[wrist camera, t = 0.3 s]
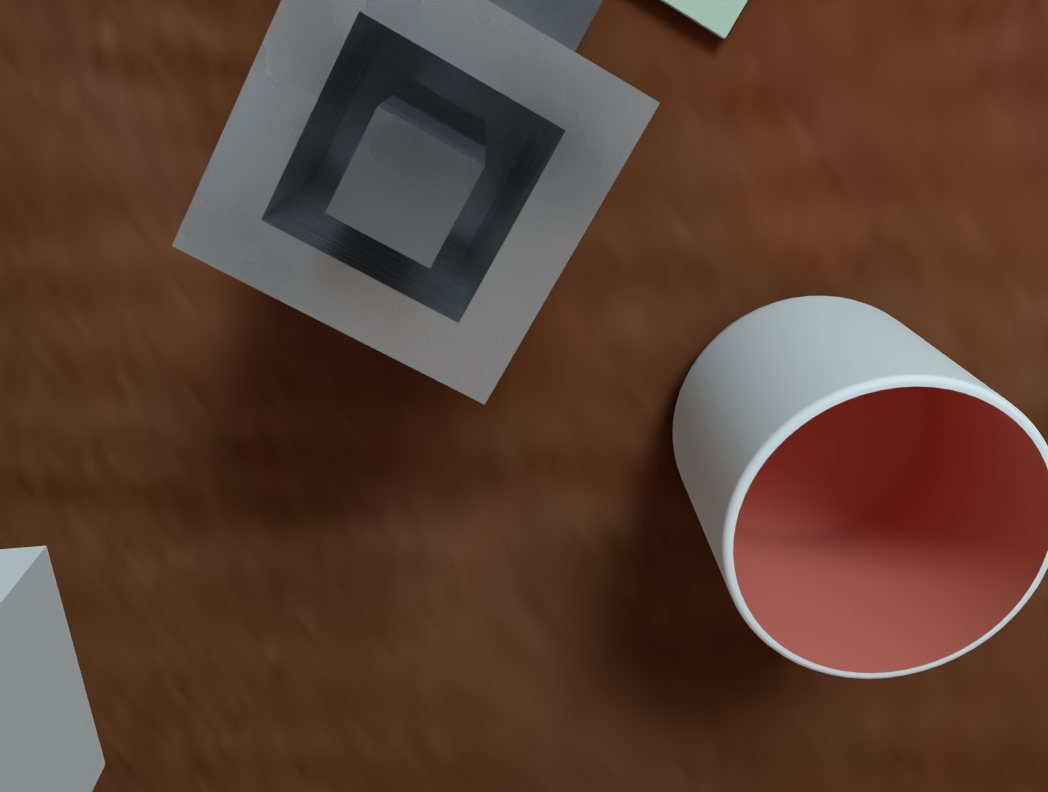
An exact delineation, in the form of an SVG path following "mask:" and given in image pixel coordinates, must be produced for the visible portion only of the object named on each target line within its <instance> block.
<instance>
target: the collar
mask: <svg viewBox="0 0 1048 792" xmlns="http://www.w3.org/2000/svg"><path fill="white" fill-rule="evenodd" d="M387 28H390V29H391V30H393V31H395V32H397V33H398V34H400V35H402V36H403V37H405V38H407V39H409V40H410V41H412V42H414V43H416V44H417V45H419V46H421V47H422V48H424V49H426V50H428V51H429V52H431V53H433V54H435V55H436V56H438V57H440V58H441V59H443V60H445V61H447V62H448V63H450V64H452V65H454V66H455V67H457V68H459V69H460V70H462V71H464V72H466V73H467V74H469V75H471V76H473V77H474V78H476V79H478V80H479V81H481V82H483V83H485V84H486V85H488V86H490V87H492V88H493V89H495V90H497V91H498V92H500V93H502V94H504V95H505V96H507V97H509V98H511V99H512V100H514V101H516V102H517V103H519V104H521V105H523V106H524V107H526V108H528V109H530V110H531V111H533V112H535V113H536V114H538V115H540V117H539V118H538V120H537V122H536V124H535V126H534V128H533V129H532V131H531V133H530V135H529V137H528V139H527V140H526V142H525V144H524V146H523V148H522V150H521V151H520V153H519V155H518V157H517V159H516V161H515V162H514V164H513V166H512V168H511V170H510V172H509V173H508V175H507V177H506V179H505V181H504V183H503V184H502V186H501V188H500V190H499V192H498V194H497V195H496V197H495V199H494V201H493V203H492V205H491V206H490V208H489V210H488V212H487V214H486V216H485V217H484V219H483V221H482V223H481V225H480V227H479V229H478V230H477V232H476V234H475V236H474V238H473V240H472V241H471V243H470V245H469V247H468V249H467V251H466V250H465V249H463V248H461V247H459V246H457V245H455V244H453V243H452V242H450V241H448V240H445V241H444V243H443V245H442V247H441V249H440V251H439V253H438V255H437V256H436V258H435V260H434V262H433V264H432V266H431V268H428V267H426V266H424V265H422V264H420V263H418V262H416V261H415V260H413V259H411V258H409V257H407V256H405V255H403V254H401V253H399V252H398V251H396V250H394V249H392V248H390V247H388V246H386V245H384V244H383V243H381V242H379V241H377V240H375V239H373V238H371V237H369V236H367V235H366V234H364V233H362V232H360V231H358V230H356V229H354V228H352V227H350V226H349V225H347V224H345V223H343V222H341V221H339V220H337V219H335V218H334V217H332V216H330V215H328V214H326V213H325V212H326V210H327V208H328V206H329V204H330V202H331V200H332V198H333V196H334V194H335V192H336V190H337V188H338V186H339V183H340V182H339V181H337V180H335V179H333V178H331V177H329V176H327V175H326V174H324V173H322V172H320V171H319V169H320V167H321V165H322V163H323V160H324V158H325V156H326V154H327V152H328V150H329V148H330V146H331V144H332V142H333V140H334V138H335V136H336V134H337V131H338V129H339V127H340V125H341V123H342V121H343V119H344V117H345V115H346V113H347V111H348V109H349V107H350V104H351V102H352V100H353V98H354V96H355V94H356V92H357V90H358V88H359V86H360V84H361V82H362V80H363V78H364V75H365V73H366V71H367V69H368V67H369V65H370V63H371V61H372V59H373V57H374V55H375V53H376V51H377V48H378V46H379V44H380V42H381V40H382V38H383V36H384V34H385V32H386V30H387ZM659 104H660V103H659V102H658V101H656V100H654V99H653V98H651V97H649V96H647V95H646V94H644V93H642V92H641V91H639V90H637V89H636V88H634V87H632V86H631V85H629V84H627V83H626V82H624V81H622V80H621V79H619V78H617V77H616V76H614V75H612V74H611V73H609V72H607V71H606V70H604V69H602V68H601V67H599V66H597V65H596V64H594V63H592V62H591V61H589V60H587V59H586V58H584V57H582V56H581V55H579V54H577V53H576V52H574V51H572V50H571V49H569V48H567V47H566V46H564V45H562V44H560V43H559V42H557V41H555V40H554V39H552V38H550V37H549V36H547V35H545V34H544V33H542V32H540V31H539V30H537V29H535V28H534V27H532V26H530V25H529V24H527V23H525V22H524V21H522V20H520V19H519V18H517V17H515V16H514V15H512V14H510V13H509V12H507V11H505V10H504V9H502V8H500V7H499V6H497V5H495V4H494V3H492V2H490V1H489V0H281V2H280V5H279V7H278V9H277V11H276V13H275V16H274V18H273V20H272V22H271V25H270V27H269V29H268V31H267V34H266V36H265V38H264V40H263V43H262V45H261V47H260V49H259V52H258V54H257V56H256V58H255V61H254V63H253V65H252V67H251V70H250V72H249V74H248V76H247V79H246V81H245V83H244V85H243V88H242V90H241V92H240V94H239V97H238V99H237V101H236V103H235V106H234V108H233V110H232V112H231V115H230V117H229V119H228V121H227V124H226V126H225V128H224V130H223V132H222V135H221V137H220V139H219V141H218V144H217V146H216V148H215V150H214V153H213V155H212V157H211V159H210V162H209V164H208V166H207V168H206V171H205V173H204V175H203V177H202V180H201V182H200V184H199V186H198V189H197V191H196V193H195V195H194V198H193V200H192V202H191V204H190V207H189V209H188V211H187V213H186V216H185V218H184V220H183V222H182V225H181V227H180V229H179V231H178V234H177V236H176V238H175V240H174V243H173V245H172V246H173V247H175V248H177V249H179V250H181V251H183V252H185V253H187V254H189V255H191V256H193V257H195V258H197V259H199V260H200V261H202V262H204V263H206V264H208V265H210V266H212V267H214V268H216V269H218V270H220V271H222V272H224V273H226V274H228V275H230V276H232V277H234V278H236V279H238V280H240V281H242V282H244V283H246V284H248V285H250V286H252V287H254V288H256V289H258V290H260V291H262V292H264V293H266V294H267V295H269V296H271V297H273V298H275V299H277V300H279V301H281V302H283V303H285V304H287V305H289V306H291V307H293V308H295V309H297V310H299V311H301V312H303V313H305V314H307V315H309V316H311V317H313V318H315V319H317V320H319V321H321V322H323V323H325V324H327V325H329V326H331V327H333V328H335V329H336V330H338V331H340V332H342V333H344V334H346V335H348V336H350V337H352V338H354V339H356V340H358V341H360V342H362V343H364V344H366V345H368V346H370V347H372V348H374V349H376V350H378V351H380V352H382V353H384V354H386V355H388V356H390V357H392V358H394V359H396V360H398V361H400V362H402V363H403V364H405V365H407V366H409V367H411V368H413V369H415V370H417V371H419V372H421V373H423V374H425V375H427V376H429V377H431V378H433V379H435V380H437V381H439V382H441V383H443V384H445V385H447V386H449V387H451V388H453V389H455V390H457V391H459V392H461V393H463V394H465V395H467V396H469V397H470V398H472V399H474V400H476V401H478V402H480V403H482V404H484V405H485V403H486V401H487V400H488V398H489V396H490V395H491V393H492V391H493V389H494V388H495V386H496V384H497V383H498V381H499V379H500V377H501V376H502V374H503V372H504V370H505V369H506V367H507V365H508V364H509V362H510V360H511V358H512V357H513V355H514V353H515V352H516V350H517V348H518V346H519V345H520V343H521V341H522V340H523V338H524V336H525V334H526V333H527V331H528V329H529V327H530V326H531V324H532V322H533V321H534V319H535V317H536V315H537V314H538V312H539V310H540V309H541V307H542V305H543V303H544V302H545V300H546V298H547V296H548V295H549V293H550V291H551V290H552V288H553V286H554V284H555V283H556V281H557V279H558V278H559V276H560V274H561V272H562V271H563V269H564V267H565V265H566V264H567V262H568V260H569V259H570V257H571V255H572V253H573V252H574V250H575V248H576V247H577V245H578V243H579V241H580V240H581V238H582V236H583V234H584V233H585V231H586V229H587V228H588V226H589V224H590V222H591V221H592V219H593V217H594V216H595V214H596V212H597V210H598V209H599V207H600V205H601V203H602V202H603V200H604V198H605V197H606V195H607V193H608V191H609V190H610V188H611V186H612V185H613V183H614V181H615V179H616V178H617V176H618V174H619V172H620V171H621V169H622V167H623V166H624V164H625V162H626V160H627V159H628V157H629V155H630V154H631V152H632V150H633V148H634V147H635V145H636V143H637V141H638V140H639V138H640V136H641V135H642V133H643V131H644V129H645V128H646V126H647V124H648V123H649V121H650V119H651V117H652V116H653V114H654V112H655V110H656V109H657V107H658V105H659Z"/></svg>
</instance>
